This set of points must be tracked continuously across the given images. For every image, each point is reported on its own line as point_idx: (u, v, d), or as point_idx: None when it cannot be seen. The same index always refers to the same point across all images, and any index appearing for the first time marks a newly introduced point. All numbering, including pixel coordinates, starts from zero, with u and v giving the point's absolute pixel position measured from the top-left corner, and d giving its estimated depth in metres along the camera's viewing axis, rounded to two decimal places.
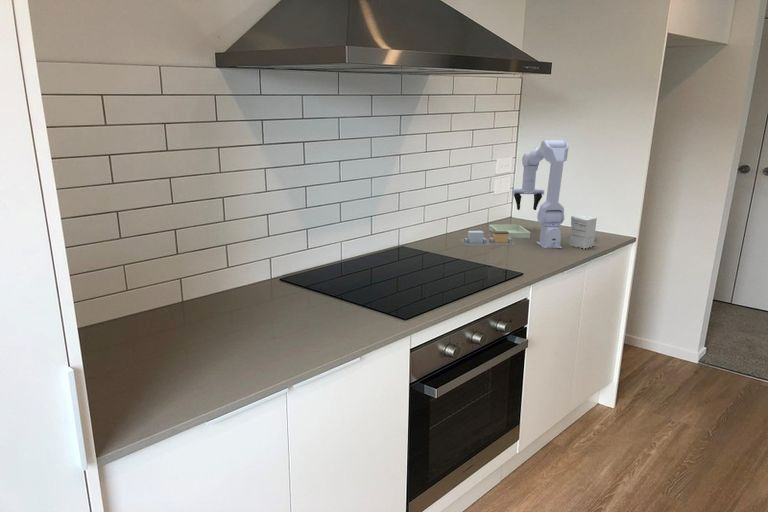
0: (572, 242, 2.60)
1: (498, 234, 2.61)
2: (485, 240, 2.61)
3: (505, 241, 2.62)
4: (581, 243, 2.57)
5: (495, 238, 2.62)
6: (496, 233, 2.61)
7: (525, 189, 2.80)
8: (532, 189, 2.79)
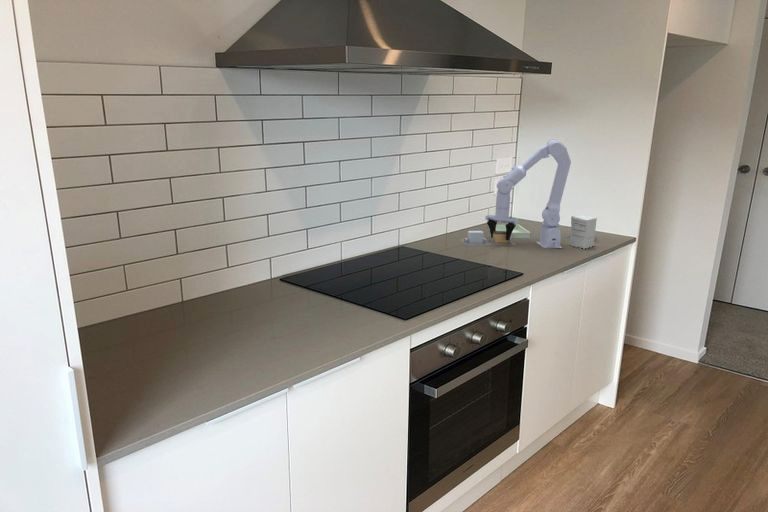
0: (572, 242, 2.60)
1: (498, 234, 2.61)
2: (485, 240, 2.61)
3: (505, 241, 2.62)
4: (581, 243, 2.57)
5: (495, 238, 2.62)
6: (496, 233, 2.61)
7: (495, 216, 2.60)
8: (501, 217, 2.58)
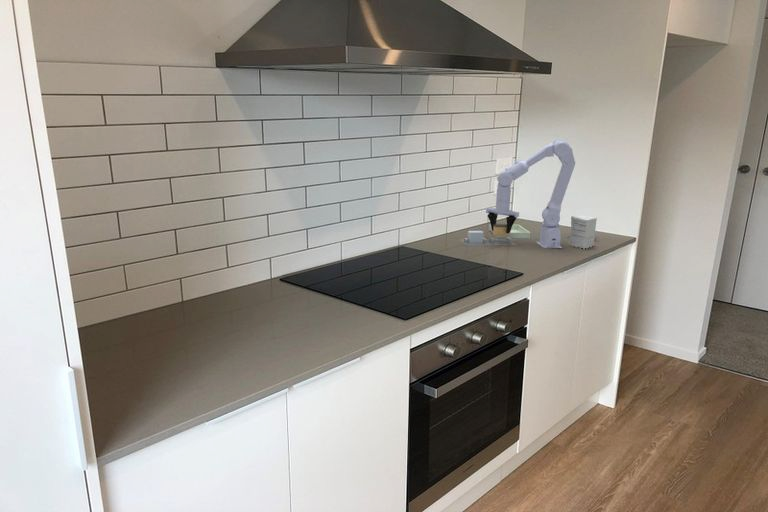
0: (572, 242, 2.60)
1: (499, 227, 2.60)
2: (485, 240, 2.61)
3: (506, 234, 2.62)
4: (581, 243, 2.57)
5: (496, 231, 2.61)
6: (497, 226, 2.60)
7: (496, 209, 2.59)
8: (502, 210, 2.57)
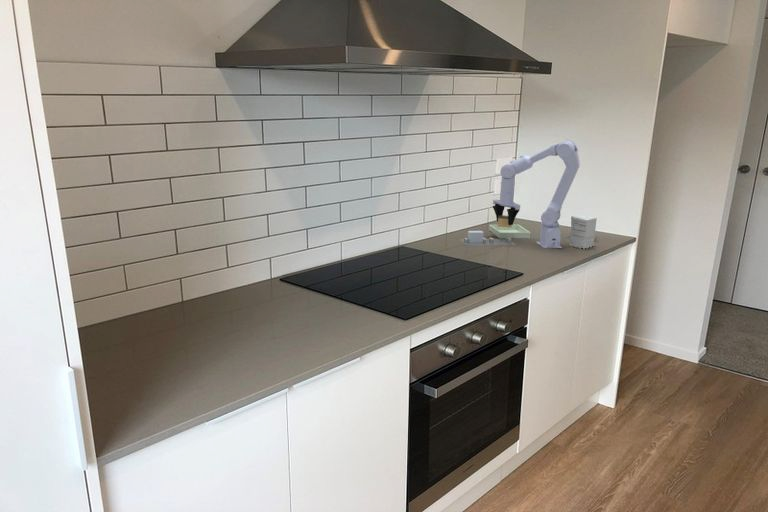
0: (572, 242, 2.60)
1: (501, 218, 2.66)
2: (485, 240, 2.61)
3: (509, 226, 2.66)
4: (581, 243, 2.57)
5: (498, 222, 2.67)
6: (499, 217, 2.66)
7: (499, 200, 2.65)
8: (504, 201, 2.63)
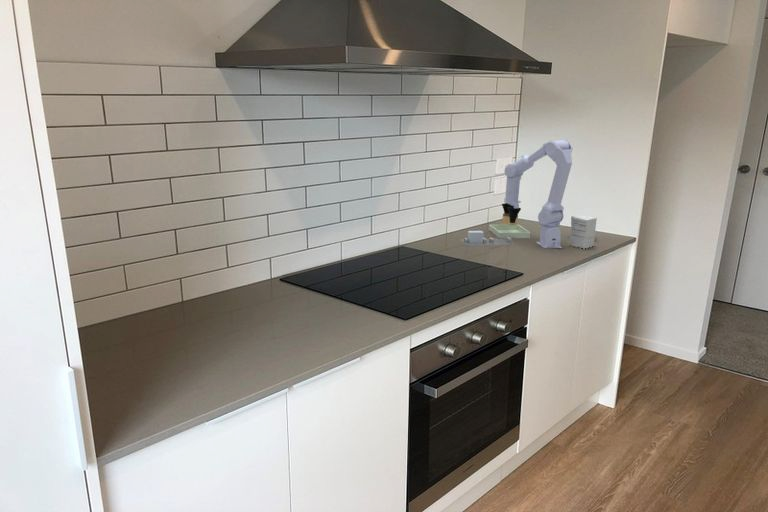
0: (572, 242, 2.60)
1: (505, 216, 2.76)
2: (485, 240, 2.61)
3: (512, 224, 2.75)
4: (581, 243, 2.57)
5: (503, 219, 2.77)
6: (504, 215, 2.76)
7: None
8: (507, 200, 2.72)
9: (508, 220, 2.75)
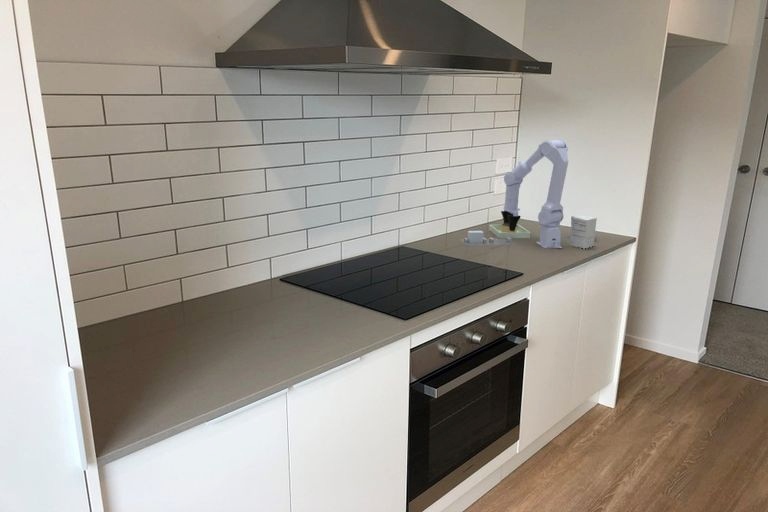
0: (572, 242, 2.60)
1: (505, 226, 2.77)
2: (485, 240, 2.61)
3: None
4: (581, 243, 2.57)
5: (502, 229, 2.78)
6: (503, 224, 2.77)
7: None
8: (506, 207, 2.73)
9: (507, 230, 2.76)
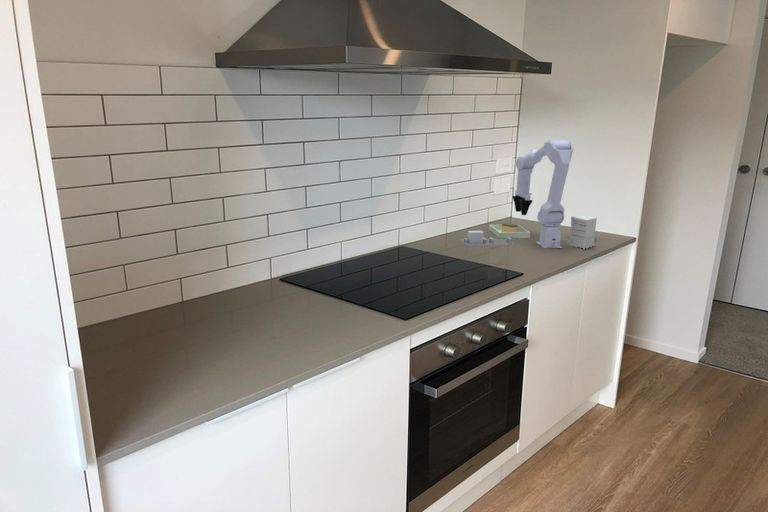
0: (572, 242, 2.60)
1: (505, 226, 2.77)
2: (485, 240, 2.61)
3: None
4: (581, 243, 2.57)
5: (502, 229, 2.78)
6: (503, 224, 2.77)
7: None
8: (518, 192, 2.76)
9: (507, 230, 2.76)
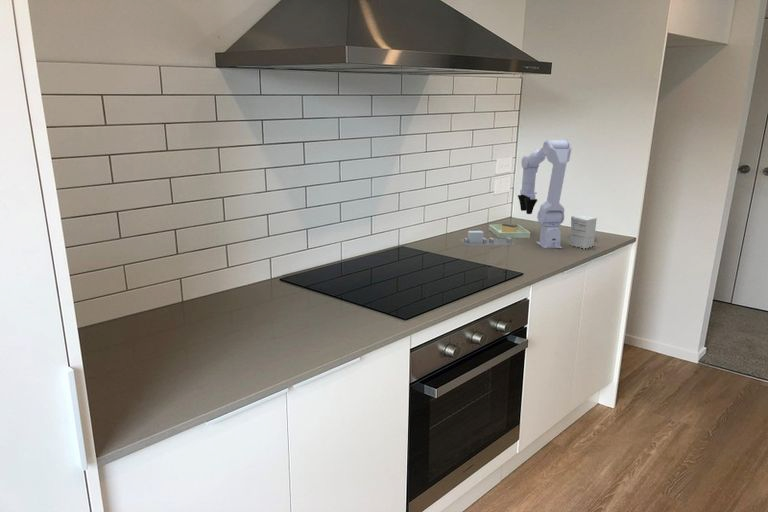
0: (572, 242, 2.60)
1: (505, 226, 2.77)
2: (485, 240, 2.61)
3: None
4: (581, 243, 2.57)
5: (502, 229, 2.78)
6: (503, 224, 2.77)
7: None
8: (523, 191, 2.78)
9: (507, 230, 2.76)
